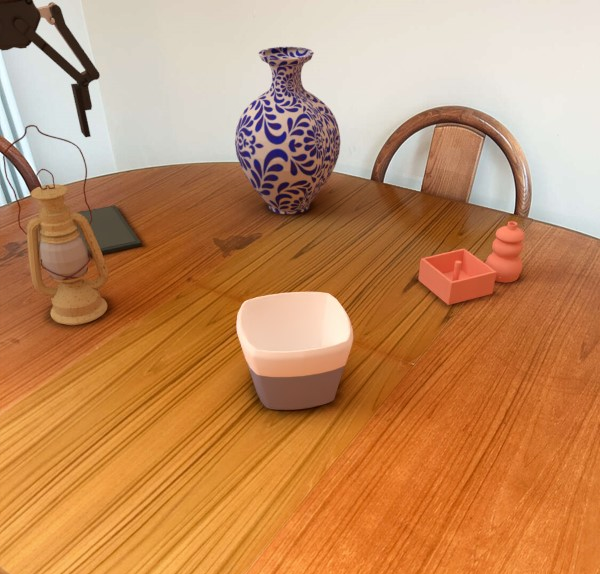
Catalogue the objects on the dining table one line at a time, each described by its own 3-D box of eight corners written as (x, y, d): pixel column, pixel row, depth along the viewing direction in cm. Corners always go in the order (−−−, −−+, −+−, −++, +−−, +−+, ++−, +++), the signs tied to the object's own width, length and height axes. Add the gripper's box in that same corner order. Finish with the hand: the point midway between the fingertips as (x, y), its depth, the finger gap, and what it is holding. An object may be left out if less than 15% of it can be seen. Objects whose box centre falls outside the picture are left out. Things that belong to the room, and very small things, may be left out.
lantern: (113, 289, 115) (75, 110, 96) (118, 318, 108) (78, 130, 89) (42, 300, 112) (-12, 118, 93) (42, 331, 105) (-16, 140, 86)
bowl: (335, 349, 101) (338, 285, 94) (359, 413, 89) (364, 346, 82) (236, 360, 99) (230, 295, 92) (247, 427, 87) (242, 359, 80)
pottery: (448, 305, 111) (456, 252, 104) (418, 279, 117) (424, 228, 111) (533, 282, 116) (546, 231, 110) (500, 259, 123) (510, 209, 117)
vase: (219, 204, 143) (205, 52, 124) (292, 178, 154) (290, 35, 135) (284, 236, 131) (281, 73, 112) (358, 206, 142) (367, 53, 123)
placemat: (58, 264, 123) (57, 259, 122) (39, 223, 136) (38, 219, 136) (141, 246, 128) (141, 241, 127) (115, 208, 142) (114, 204, 141)
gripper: (-125, -27, 72) (-56, 165, 86) (101, -42, 81) (131, 135, 94) (-125, -35, 77) (-60, 148, 91) (87, -48, 86) (117, 121, 99)
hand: (37, 142), depth 93 cm, fingers open, 13 cm apart
